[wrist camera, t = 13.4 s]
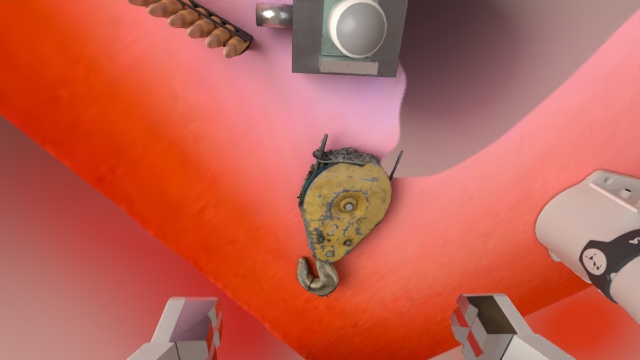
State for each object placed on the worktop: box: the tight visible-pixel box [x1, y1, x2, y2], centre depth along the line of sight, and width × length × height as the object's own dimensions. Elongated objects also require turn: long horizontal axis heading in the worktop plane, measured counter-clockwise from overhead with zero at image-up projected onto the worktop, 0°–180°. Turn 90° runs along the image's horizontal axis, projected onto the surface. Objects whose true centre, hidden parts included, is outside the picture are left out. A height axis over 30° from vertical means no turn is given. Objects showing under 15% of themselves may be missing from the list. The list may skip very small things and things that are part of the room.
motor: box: [256, 0, 408, 77], centre depth 37 cm, size 16×11×9 cm
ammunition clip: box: [127, 0, 253, 58], centre depth 35 cm, size 11×2×12 cm, turn 59°
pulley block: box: [297, 134, 403, 297], centre depth 53 cm, size 14×6×30 cm
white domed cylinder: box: [327, 0, 387, 58], centre depth 33 cm, size 5×5×6 cm
